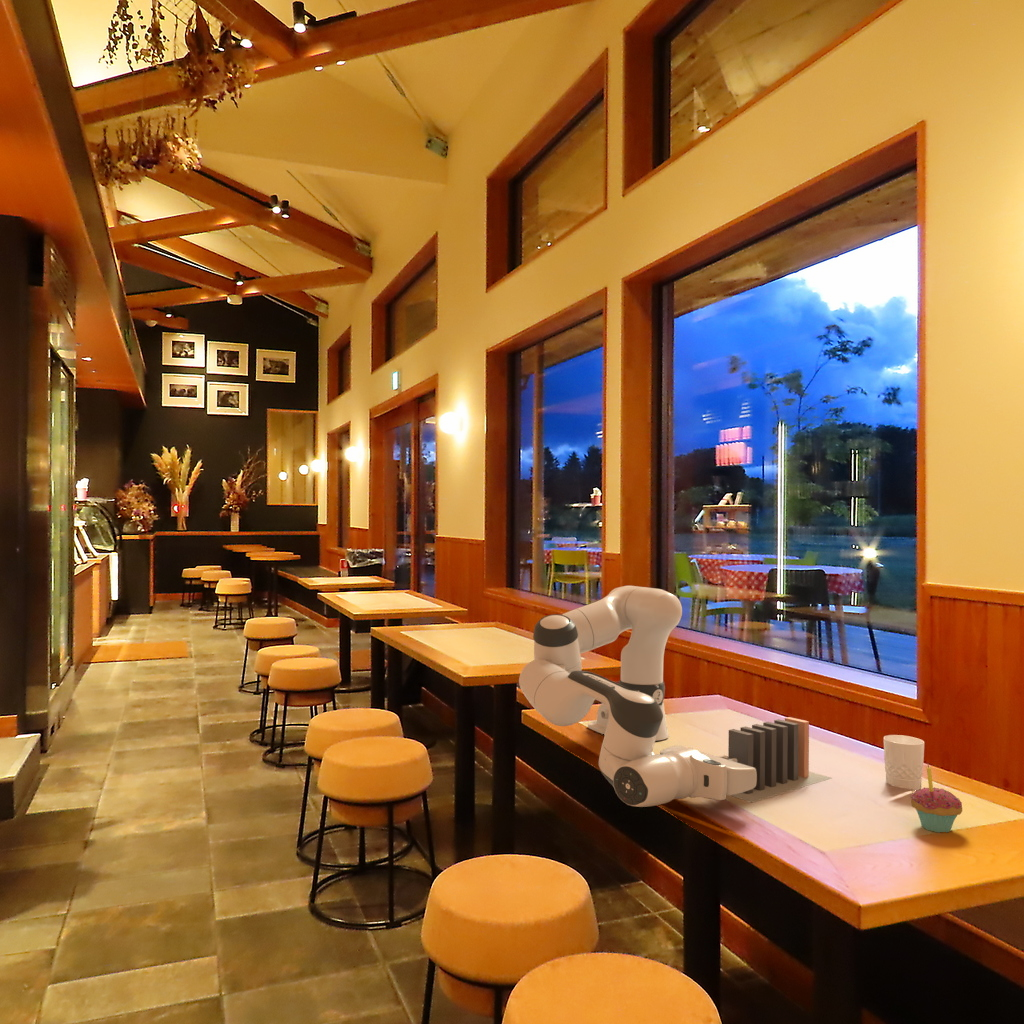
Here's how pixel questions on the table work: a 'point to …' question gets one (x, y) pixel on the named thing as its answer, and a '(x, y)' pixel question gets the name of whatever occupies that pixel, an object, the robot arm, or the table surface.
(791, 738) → the domino
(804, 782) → the felt strip
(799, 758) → the domino
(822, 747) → the table surface
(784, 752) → the domino
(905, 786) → the white cup
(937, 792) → the cupcake
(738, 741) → the domino
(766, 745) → the domino
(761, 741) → the domino
